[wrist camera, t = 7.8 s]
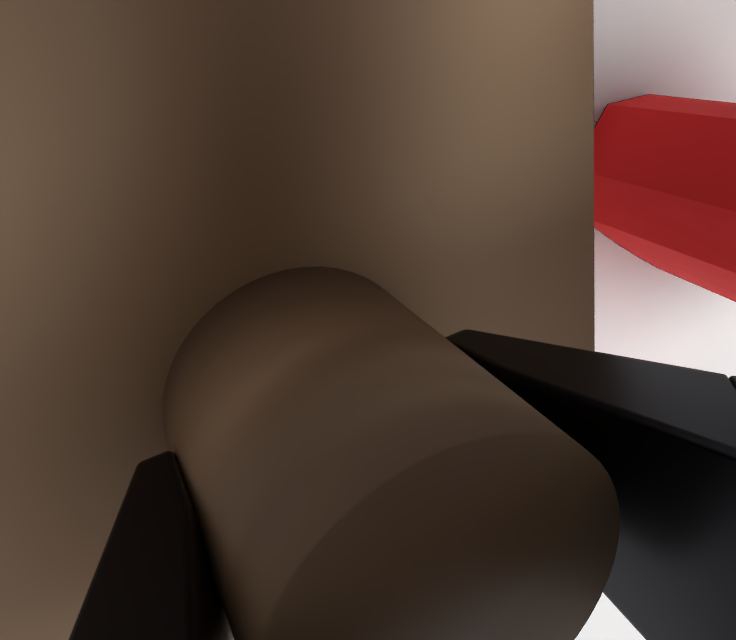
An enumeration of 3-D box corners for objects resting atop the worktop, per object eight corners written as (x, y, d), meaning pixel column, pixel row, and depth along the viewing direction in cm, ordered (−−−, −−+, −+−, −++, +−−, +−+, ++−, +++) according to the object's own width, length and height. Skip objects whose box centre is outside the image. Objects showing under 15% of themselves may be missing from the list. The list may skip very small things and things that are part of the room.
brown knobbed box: (369, -120, 13) (1017, -343, 4) (433, 334, 18) (797, 630, 9) (-258, -16, 10) (-1840, -100, 1) (29, 498, 15) (42, 1142, 6)
